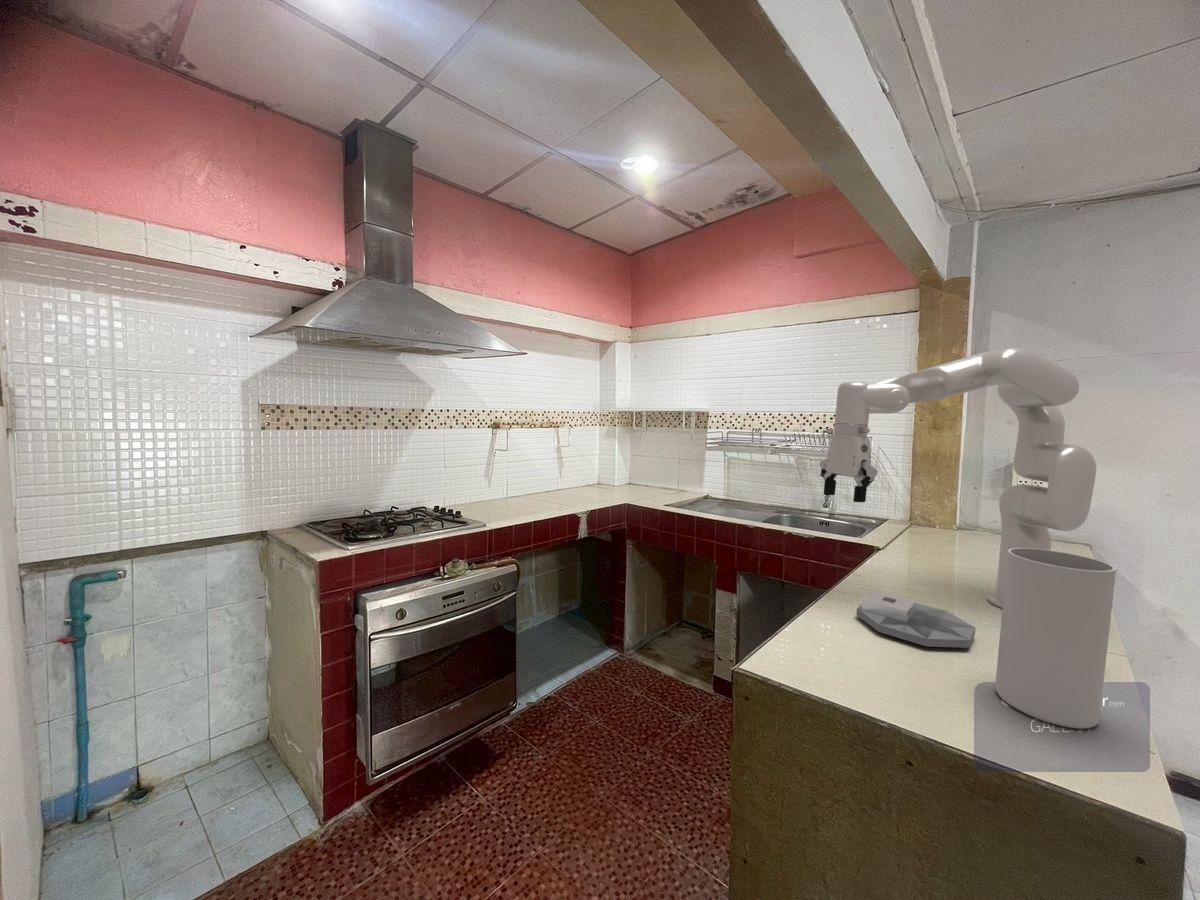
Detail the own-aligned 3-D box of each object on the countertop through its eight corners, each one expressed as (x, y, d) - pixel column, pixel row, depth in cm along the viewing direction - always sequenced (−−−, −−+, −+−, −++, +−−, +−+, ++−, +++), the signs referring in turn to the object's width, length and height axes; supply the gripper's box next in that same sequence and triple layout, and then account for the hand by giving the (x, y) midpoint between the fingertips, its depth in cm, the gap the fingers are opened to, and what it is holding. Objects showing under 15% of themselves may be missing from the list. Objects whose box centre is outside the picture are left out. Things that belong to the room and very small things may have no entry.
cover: (915, 611, 109) (916, 600, 109) (906, 622, 103) (907, 610, 103) (872, 599, 115) (873, 589, 115) (861, 609, 109) (862, 598, 109)
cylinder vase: (977, 681, 84) (989, 546, 83) (1052, 687, 83) (1066, 550, 81) (1033, 727, 72) (1049, 568, 70) (1123, 735, 71) (1142, 574, 69)
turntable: (978, 626, 106) (979, 619, 106) (964, 658, 91) (965, 650, 91) (874, 598, 121) (875, 592, 120) (847, 622, 106) (848, 615, 106)
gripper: (892, 434, 111) (884, 505, 112) (835, 430, 128) (829, 492, 129) (867, 432, 109) (860, 505, 110) (813, 429, 125) (807, 492, 127)
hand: (843, 498), depth 120 cm, fingers open, 9 cm apart
